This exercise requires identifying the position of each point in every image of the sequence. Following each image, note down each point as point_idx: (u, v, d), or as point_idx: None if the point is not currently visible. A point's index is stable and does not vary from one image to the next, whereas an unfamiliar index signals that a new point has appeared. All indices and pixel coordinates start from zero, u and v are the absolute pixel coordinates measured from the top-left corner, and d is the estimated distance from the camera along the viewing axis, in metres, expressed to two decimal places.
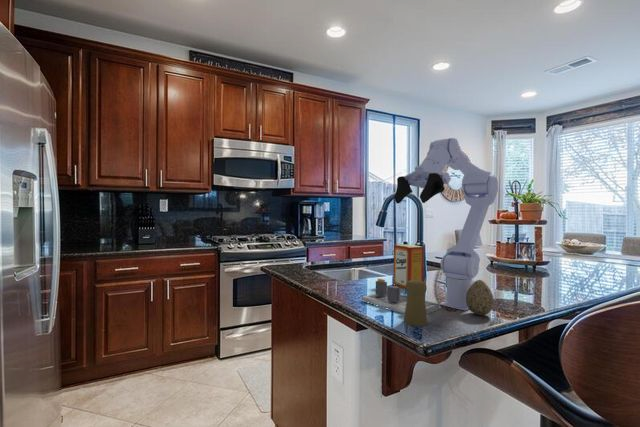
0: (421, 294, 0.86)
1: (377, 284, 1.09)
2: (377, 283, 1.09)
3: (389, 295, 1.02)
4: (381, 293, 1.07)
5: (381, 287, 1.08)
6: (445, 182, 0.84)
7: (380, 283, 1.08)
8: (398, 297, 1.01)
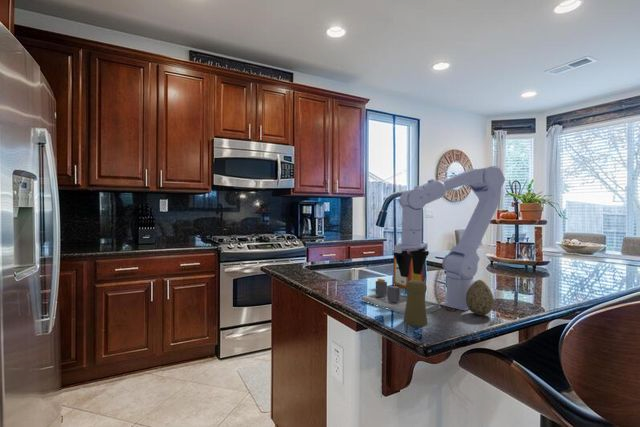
0: (421, 294, 0.86)
1: (377, 284, 1.09)
2: (377, 283, 1.09)
3: (389, 295, 1.02)
4: (381, 293, 1.07)
5: (381, 287, 1.08)
6: (399, 252, 0.96)
7: (380, 283, 1.08)
8: (398, 297, 1.01)
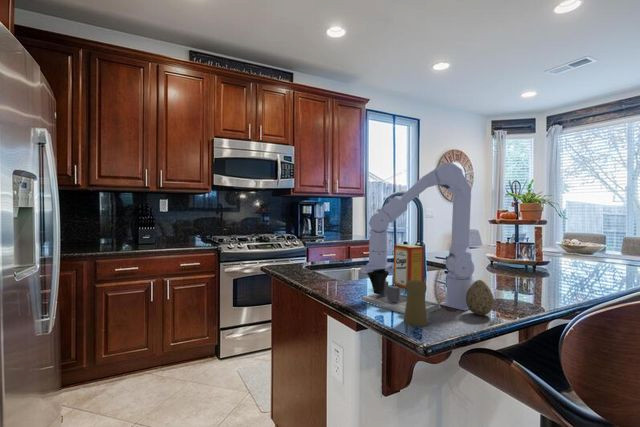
0: (421, 294, 0.86)
1: None
2: None
3: (389, 295, 1.02)
4: (382, 293, 1.08)
5: None
6: None
7: None
8: (398, 297, 1.01)
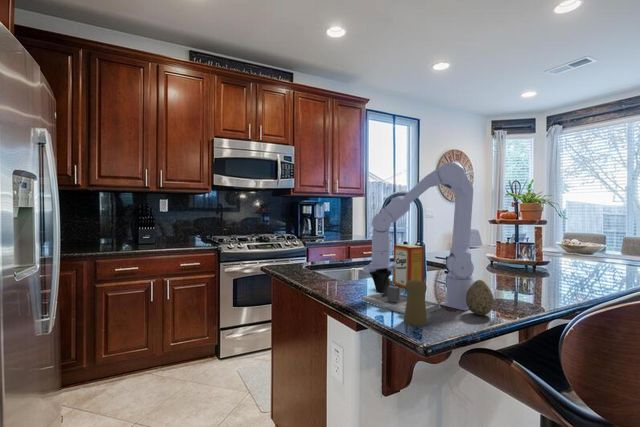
0: (421, 294, 0.86)
1: None
2: None
3: (389, 295, 1.02)
4: None
5: (387, 286, 1.10)
6: (367, 272, 1.04)
7: None
8: (398, 297, 1.01)
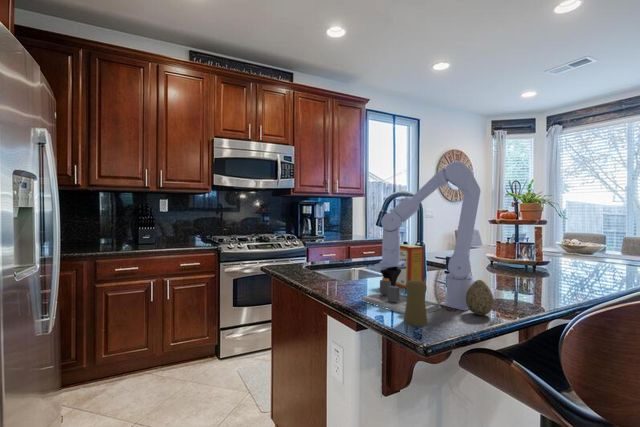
0: (421, 294, 0.86)
1: (381, 283, 1.10)
2: (381, 282, 1.10)
3: (389, 295, 1.02)
4: (385, 292, 1.09)
5: (385, 286, 1.09)
6: (378, 270, 1.07)
7: (384, 282, 1.09)
8: (398, 297, 1.01)
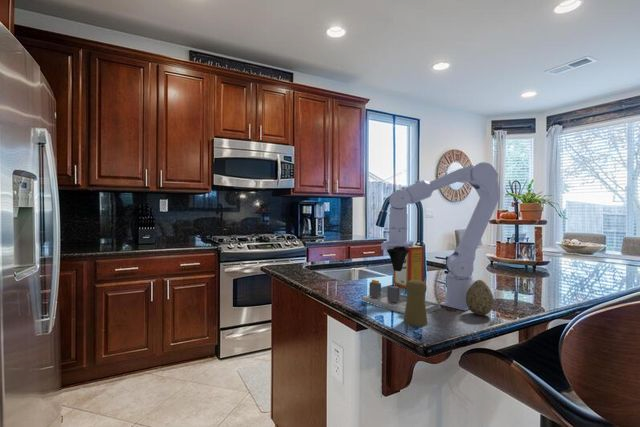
0: (421, 294, 0.86)
1: (371, 285, 1.07)
2: (371, 284, 1.07)
3: (389, 295, 1.02)
4: (375, 295, 1.05)
5: (375, 288, 1.06)
6: (386, 249, 1.03)
7: (374, 284, 1.06)
8: (398, 297, 1.01)
